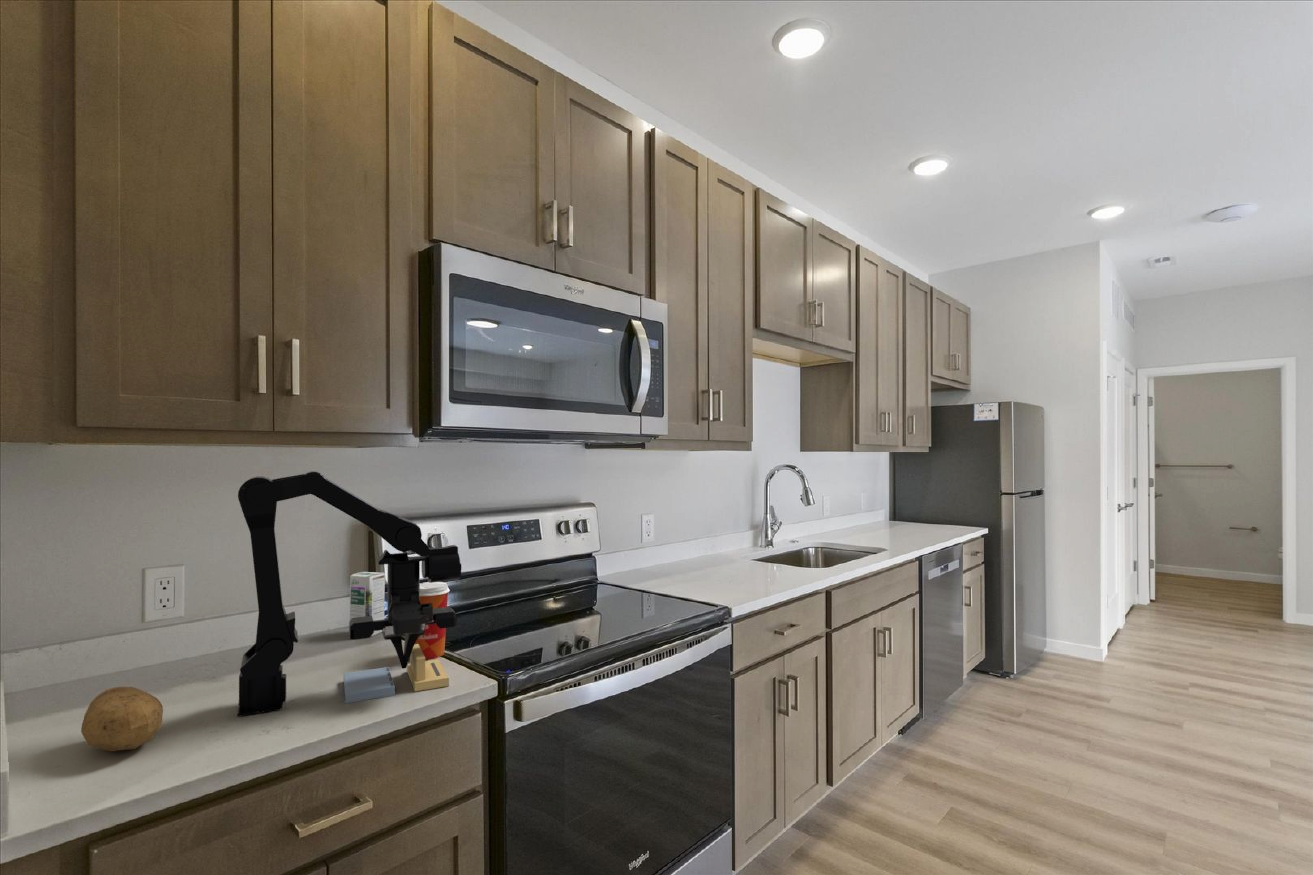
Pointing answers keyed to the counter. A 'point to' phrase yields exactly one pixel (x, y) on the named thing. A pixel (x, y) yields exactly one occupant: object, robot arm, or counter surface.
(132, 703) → the potato
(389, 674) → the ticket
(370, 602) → the syrup box
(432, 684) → the stub
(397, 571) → the robot arm
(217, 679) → the counter surface
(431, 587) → the coffee cup
